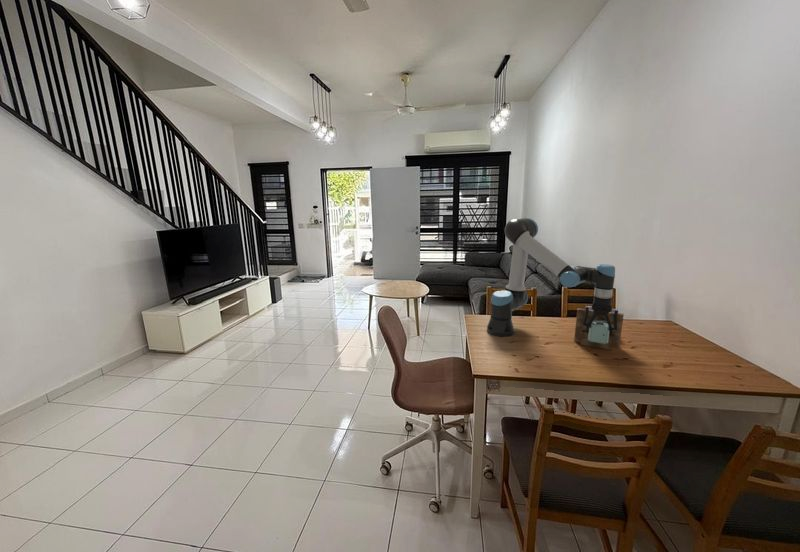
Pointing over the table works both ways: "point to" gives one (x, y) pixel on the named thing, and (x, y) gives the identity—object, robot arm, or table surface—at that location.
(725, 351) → the table surface
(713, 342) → the table surface
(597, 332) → the cabinet
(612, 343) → the wall board
